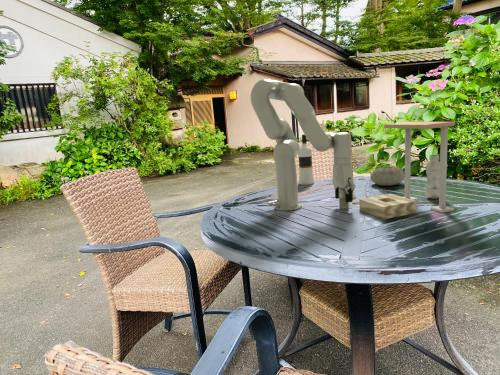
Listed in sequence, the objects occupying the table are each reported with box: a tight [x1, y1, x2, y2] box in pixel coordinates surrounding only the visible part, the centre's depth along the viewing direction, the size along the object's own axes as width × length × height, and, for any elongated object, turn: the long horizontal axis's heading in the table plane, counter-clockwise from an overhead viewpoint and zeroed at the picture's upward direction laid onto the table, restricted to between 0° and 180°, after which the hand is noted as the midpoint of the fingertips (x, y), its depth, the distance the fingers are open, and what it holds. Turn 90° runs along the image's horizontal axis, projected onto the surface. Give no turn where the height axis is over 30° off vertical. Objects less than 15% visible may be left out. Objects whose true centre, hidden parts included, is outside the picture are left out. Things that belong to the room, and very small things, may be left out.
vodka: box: [297, 133, 315, 186], centre depth 220 cm, size 9×9×30 cm
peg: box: [338, 187, 350, 211], centre depth 162 cm, size 4×4×11 cm
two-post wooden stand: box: [383, 121, 456, 213], centre depth 154 cm, size 14×26×36 cm, turn 18°
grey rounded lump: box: [369, 166, 405, 187], centre depth 203 cm, size 18×18×10 cm
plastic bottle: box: [424, 154, 440, 200], centre depth 166 cm, size 6×7×20 cm
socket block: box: [358, 193, 418, 220], centre depth 153 cm, size 16×16×5 cm
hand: (343, 199), depth 163 cm, fingers open, 7 cm apart
